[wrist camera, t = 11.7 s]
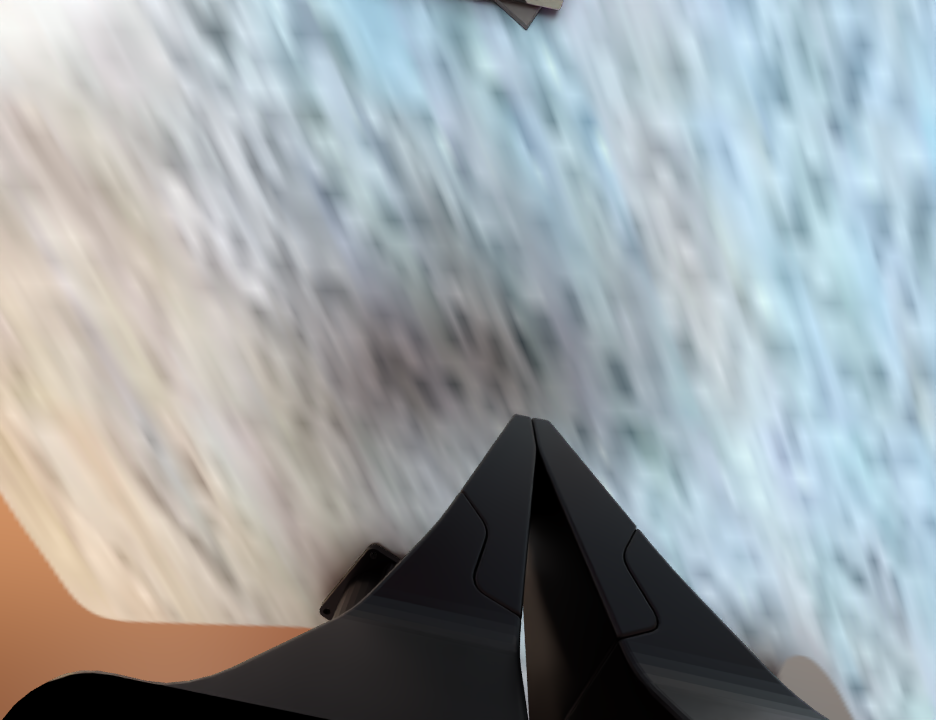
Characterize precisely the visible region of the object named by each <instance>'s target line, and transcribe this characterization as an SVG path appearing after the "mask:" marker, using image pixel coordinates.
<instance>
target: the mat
mask: <svg viewBox="0 0 936 720" xmlns="http://www.w3.org/2000/svg"><path fill="white" fill-rule="evenodd" d="M494 1H495V2H496V3H497V4H498V5H499V6H500V7H501V8H502V9H504V10H505V11H506V12H507V13H508V14H509V15H510V16H511V17H512V18H514V19H515V20H516V21H517V22H518V23H519V24H520V25H521V26H522V27H523V28H525V29H526V30H527V28H528V27H529V25H530V24H531V22H532V21H533V19H534V18H535V17H536V15H537V14H538V12H539V11H540V9H541V8H542V7H541V6H536V5H531V4H527V3H523V2H518V1H513V0H494Z"/></svg>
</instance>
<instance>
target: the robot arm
mask: <svg viewBox="0 0 936 720" xmlns="http://www.w3.org/2000/svg"><path fill="white" fill-rule="evenodd" d="M372 552H374V553H376V554H372ZM522 610H523V612H524V631H525V649H526V668H527V686H528V705H529V720H829V719H827V718H826V717H824V716H823V715H821V714H820V713H818V712H817V711H815V710H814V709H813V708H811V707H810V706H809V705H807V704H806V703H805V702H804V701H802V700H801V699H800V698H799V697H797V696H796V695H795V694H794V693H793V692H792V691H791V690H789V689H788V688H787V687H786V686H785V685H784V684H783V683H782V682H781V681H780V680H779V679H778V678H777V677H776V676H775V675H774V674H773V673H772V672H771V671H770V670H769V669H768V668H767V667H766V666H765V665H764V664H763V663H762V662H761V661H760V660H759V659H758V658H757V657H756V656H755V655H754V654H753V653H752V652H751V651H750V650H749V649H748V648H747V646H746V645H745V644H744V643H743V642H742V641H741V640H740V639H739V638H738V637H737V636H736V635H735V634H734V633H733V632H732V631H731V630H730V629H729V628H728V627H727V626H726V625H725V624H724V623H723V622H722V620H721V619H720V618H719V617H718V616H717V615H716V614H715V613H714V612H713V611H712V610H711V609H710V608H709V607H708V606H707V605H706V604H705V603H704V602H703V601H702V600H701V599H700V598H699V597H698V595H697V594H696V593H695V592H694V591H693V590H692V589H691V588H690V587H689V586H688V585H687V584H686V583H685V581H684V580H683V579H682V578H681V577H680V576H679V575H678V574H677V573H676V572H675V571H674V570H673V569H672V567H671V566H670V565H669V564H668V563H667V562H666V560H665V559H664V558H663V557H662V556H661V555H660V554H659V552H658V551H657V550H656V549H655V548H654V547H653V545H652V544H651V543H650V542H649V541H648V539H647V538H646V537H645V536H644V535H643V533H642V532H641V531H640V530H639V529H636V525H635V524H634V523H633V522H632V520H631V519H630V518H629V517H628V515H627V514H626V513H625V512H624V511H623V509H622V508H621V507H620V506H619V505H618V503H617V502H616V501H615V500H614V499H613V497H612V496H611V495H610V494H609V493H608V491H607V490H606V489H605V488H604V486H603V485H602V484H601V483H600V482H599V480H598V479H597V478H596V477H595V476H594V474H593V473H592V472H591V471H590V470H589V468H588V467H587V466H586V465H585V464H584V462H583V461H582V460H581V459H580V458H579V456H578V455H577V454H576V453H575V451H574V450H573V449H572V448H571V447H570V445H569V444H568V443H567V442H566V441H565V439H564V438H563V437H562V436H561V435H560V433H559V432H558V431H557V430H556V429H555V427H554V426H553V425H552V424H551V423H550V422H549V421H547V420H543V419H537V418H533V419H532V420H531V418H530V417H527V416H522V415H517V414H515V415H514V416H513V417H512V418H511V420H510V421H509V423H508V424H507V425H506V427H505V428H504V430H503V431H502V433H501V434H500V435H499V437H498V438H497V440H496V441H495V443H494V444H493V445H492V447H491V448H490V450H489V451H488V453H487V454H486V455H485V457H484V458H483V460H482V461H481V463H480V464H479V465H478V467H477V468H476V470H475V471H474V473H473V474H472V475H471V477H470V478H469V480H468V481H467V483H466V484H465V485H464V487H463V488H462V490H461V491H460V493H459V494H458V495H457V496H456V498H455V499H454V501H453V502H452V504H451V505H450V506H449V508H448V509H447V510H446V511H445V513H444V514H443V515H442V517H441V518H440V519H439V521H438V522H437V523H436V524H435V525H434V526H433V527H432V528H431V530H430V531H429V532H428V533H427V534H426V535H425V536H424V537H423V538H422V540H421V541H420V542H419V543H418V544H417V545H416V546H415V547H414V548H413V549H412V550H411V551H410V552H409V553H408V554H407V555H406V556H405V557H404V558H403V559H402V560H401V559H399V558H398V557H396V556H394V555H393V554H391V553H390V552H388V551H387V550H385V549H384V548H382V547H380V546H379V545H374V544H373V545H370V546H369V547H368V548H367V550H366V551H365V552H364V553H363V554H362V556H361V557H360V558H359V559H358V560H357V562H356V563H355V564H354V565H353V567H352V568H351V569H350V570H349V571H348V573H347V574H346V575H345V576H344V577H343V579H342V580H341V581H340V582H339V584H338V585H337V586H336V587H335V588H334V590H333V591H332V592H331V593H330V595H329V596H328V597H327V598H326V599H325V601H324V602H323V603H322V606H321V608H320V614H321V615H322V616H323V617H325V618H326V619H328V620H330V621H328V622H326V623H324V624H322V625H320V626H318V627H316V628H313V629H311V630H309V631H307V632H305V633H303V634H301V635H299V636H297V637H295V638H292V639H290V640H288V641H286V642H284V643H282V644H280V645H278V646H276V647H274V648H272V649H269V650H267V651H265V652H263V653H261V654H259V655H257V656H255V657H253V658H251V659H248V660H246V661H245V662H242V663H240V664H238V665H236V666H234V667H232V668H229V669H227V670H224V671H222V672H219V673H217V674H214V675H211V676H208V677H203V678H199V679H195V680H190V681H182V682H172V683H161V682H151V681H144V680H140V679H136V678H131V677H127V676H122V675H118V674H113V673H107V672H102V671H78V672H73V673H67V674H64V675H61V676H59V677H57V678H55V679H53V680H51V681H49V682H47V683H45V684H43V685H41V686H39V687H38V688H36V689H34V690H33V691H31V692H30V693H28V694H27V695H26V696H25V697H23V698H22V699H21V700H20V701H18V702H17V703H16V704H15V705H14V706H13V707H12V709H11V710H10V711H9V712H8V713H7V715H6V716H5V717H4V718H3V720H528V714H527V707H526V700H525V692H524V685H523V678H522V671H521V663H520V632H521V618H522Z"/></svg>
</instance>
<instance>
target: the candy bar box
mask: <svg viewBox="0 0 936 720" xmlns="http://www.w3.org/2000/svg"><path fill="white" fill-rule="evenodd" d="M513 1H518V2H523V3H527V4H531V5H536V6H541V7H545V8H550V9H555V10H560V8H561V6H562V3H563V0H513Z"/></svg>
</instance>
